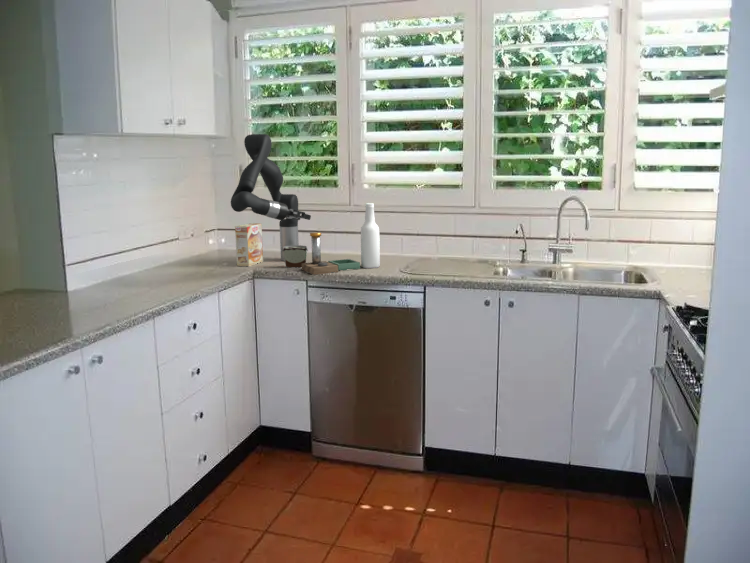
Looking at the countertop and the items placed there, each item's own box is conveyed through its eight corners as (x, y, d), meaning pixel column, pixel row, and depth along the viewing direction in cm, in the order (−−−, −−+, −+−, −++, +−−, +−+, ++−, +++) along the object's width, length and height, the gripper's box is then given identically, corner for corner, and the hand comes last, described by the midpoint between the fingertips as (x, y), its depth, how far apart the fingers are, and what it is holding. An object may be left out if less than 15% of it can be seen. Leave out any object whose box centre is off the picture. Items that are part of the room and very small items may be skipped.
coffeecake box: (249, 266, 324) (247, 226, 320) (236, 266, 326) (234, 226, 322) (264, 261, 338) (262, 223, 334) (251, 261, 340) (249, 222, 336)
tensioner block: (301, 269, 313) (301, 260, 313) (325, 267, 319) (325, 258, 318) (313, 274, 300) (313, 265, 300) (338, 272, 306) (337, 263, 305)
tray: (328, 267, 319) (328, 260, 319) (349, 265, 324) (349, 258, 324) (338, 270, 309) (338, 264, 308) (360, 268, 314) (359, 262, 313)
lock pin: (309, 269, 314) (308, 232, 310) (319, 268, 316) (318, 232, 313) (313, 271, 309) (312, 234, 306) (324, 270, 311) (323, 233, 308)
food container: (310, 265, 324) (310, 245, 322) (308, 267, 318) (307, 247, 316) (285, 265, 325) (284, 245, 324) (282, 267, 319) (281, 247, 318)
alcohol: (361, 268, 314) (360, 204, 308) (361, 265, 323) (360, 202, 317) (380, 268, 314) (379, 203, 308) (379, 265, 323) (378, 202, 317)
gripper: (284, 201, 292) (315, 209, 302) (268, 202, 303) (298, 210, 313) (281, 218, 292) (312, 225, 302) (265, 218, 303) (295, 225, 313)
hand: (305, 217), depth 308 cm, fingers open, 8 cm apart
